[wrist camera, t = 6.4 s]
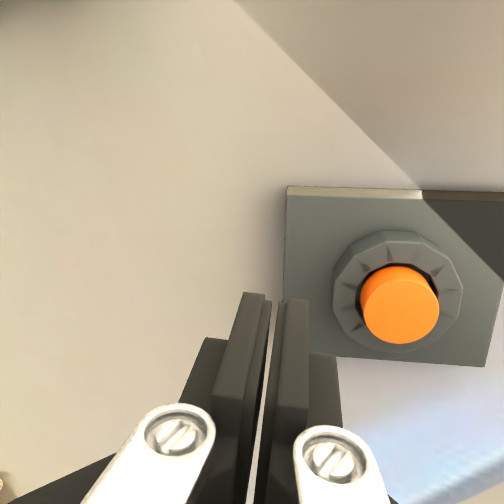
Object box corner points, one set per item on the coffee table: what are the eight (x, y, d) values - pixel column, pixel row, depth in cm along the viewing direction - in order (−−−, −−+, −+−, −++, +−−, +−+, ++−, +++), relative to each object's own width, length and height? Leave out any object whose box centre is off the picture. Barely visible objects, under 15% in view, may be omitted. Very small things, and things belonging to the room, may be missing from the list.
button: (435, 267, 22) (445, 282, 21) (424, 328, 24) (433, 346, 22) (363, 264, 23) (367, 277, 21) (356, 323, 24) (360, 341, 22)
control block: (505, 192, 24) (541, 212, 20) (471, 346, 28) (497, 387, 24) (287, 185, 25) (284, 203, 22) (282, 333, 29) (279, 370, 25)
